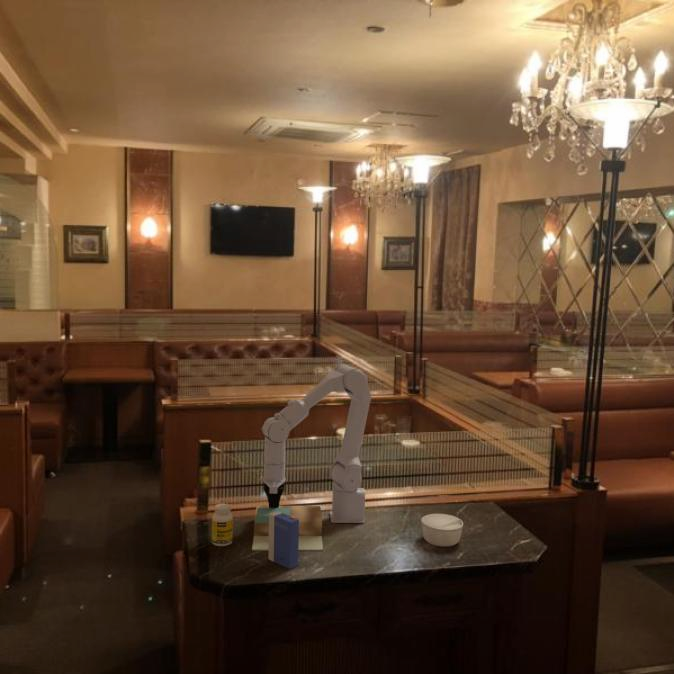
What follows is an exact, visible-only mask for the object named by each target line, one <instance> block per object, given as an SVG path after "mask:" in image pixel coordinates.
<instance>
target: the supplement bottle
mask: <svg viewBox="0 0 674 674" xmlns="http://www.w3.org/2000/svg"><path fill="white" fill-rule="evenodd" d="M233 533H234V515H233V514H232V513H231V505H230V504H228V503H218V504H216V505H215V506H214V513H213V514H212V517H211V544H213V546H217V547H225V546H229V545H231V544H232V543H233V537H234V536H233Z"/></svg>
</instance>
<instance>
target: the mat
mask: <svg viewBox="0 0 674 674" xmlns="http://www.w3.org/2000/svg"><path fill="white" fill-rule="evenodd" d="M323 550H324V547H323V536H299V544H298V552H299V551H303V552H305V551H315V552H316V551H318V552H320V551H322V552H323ZM251 551H256V552H257V551H269V536H254V535H253V541H252V546H251Z"/></svg>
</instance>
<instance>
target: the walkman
mask: <svg viewBox="0 0 674 674" xmlns="http://www.w3.org/2000/svg"><path fill="white" fill-rule="evenodd" d="M298 544H299V519H296V517H294V516H288V515H286V514H283V513H281V512H278V511H277V512H274V513H270V514H269V551H268V556H267V557H268V560H270V561H271V562H274V563H275V564H277V565H280V566H283V567H285V568H286V569H289V570H291V569H294V568H296V567H298V566H299V551H298Z"/></svg>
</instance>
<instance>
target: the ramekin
mask: <svg viewBox="0 0 674 674" xmlns="http://www.w3.org/2000/svg"><path fill="white" fill-rule="evenodd" d="M420 524H421V529H422V536H423V538H424V540H425V542H427V543H428V544H430V545H433V546H437V547H445V548H447V547H452V546H453V547H454V546H455V545H456V544H458V543H459V542H460V540H461V535H462V530H463V529H464V522H463V520H462V519H460V518H458V517H457V516H456V515H455V516H454V515H451V514H445V513H431V514H426V515H424V516H422V517H421V519H420Z"/></svg>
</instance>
